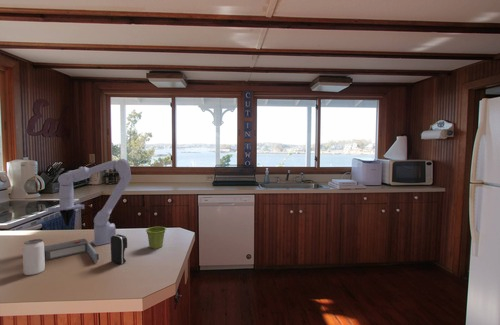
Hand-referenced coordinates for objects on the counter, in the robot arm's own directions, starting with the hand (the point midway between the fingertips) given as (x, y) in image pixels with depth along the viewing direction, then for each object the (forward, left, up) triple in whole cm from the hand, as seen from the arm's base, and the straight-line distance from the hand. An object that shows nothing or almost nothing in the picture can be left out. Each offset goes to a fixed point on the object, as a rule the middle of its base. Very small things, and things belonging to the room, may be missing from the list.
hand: (66, 225), depth 132 cm
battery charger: (-13, +36, -11) cm, 40 cm away
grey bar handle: (-6, +23, -10) cm, 26 cm away
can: (+14, +24, -11) cm, 30 cm away
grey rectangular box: (+2, +10, -10) cm, 15 cm away
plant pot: (-32, +29, -11) cm, 45 cm away
